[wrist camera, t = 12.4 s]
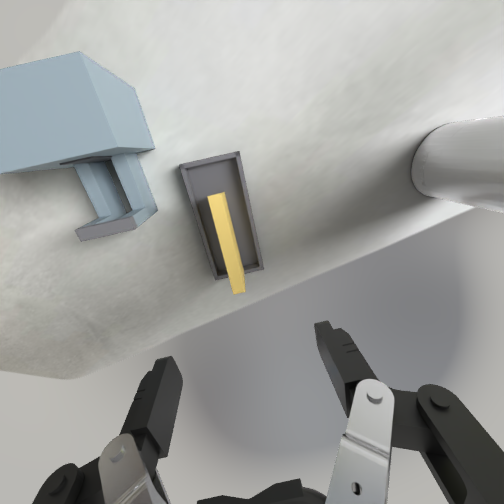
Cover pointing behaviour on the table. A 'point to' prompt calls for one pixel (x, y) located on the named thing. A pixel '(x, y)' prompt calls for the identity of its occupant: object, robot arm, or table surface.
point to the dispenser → (78, 134)
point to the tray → (234, 185)
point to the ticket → (227, 241)
